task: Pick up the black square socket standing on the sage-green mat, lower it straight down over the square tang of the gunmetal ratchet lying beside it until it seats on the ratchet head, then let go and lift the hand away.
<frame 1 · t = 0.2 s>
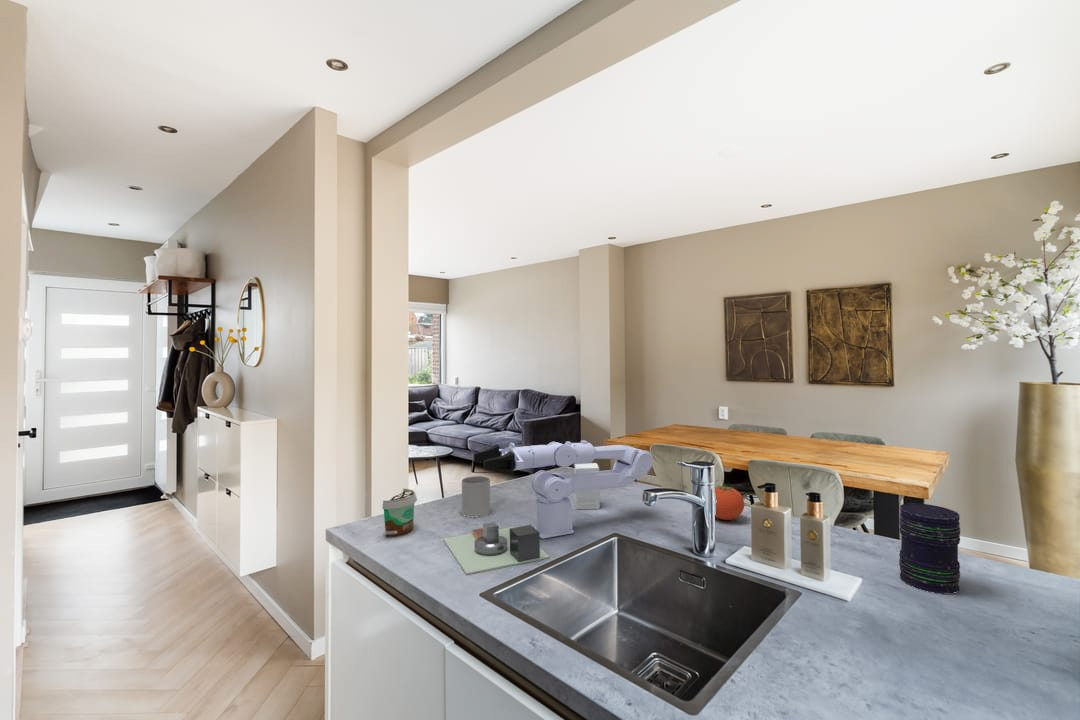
hand: (478, 461, 125), 21 cm above the worktop, tool horizontal, fingers open, 7 cm apart
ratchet: (491, 549, 122), resting on tool mat
food container: (404, 532, 136), on the worktop
supplement box: (587, 506, 156), on the worktop
cup: (476, 513, 151), on the worktop
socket: (524, 555, 118), resting on tool mat
storage jar: (928, 583, 103), on the worktop
tomato: (725, 519, 142), on the worktop
tool mat: (493, 548, 124), on the worktop
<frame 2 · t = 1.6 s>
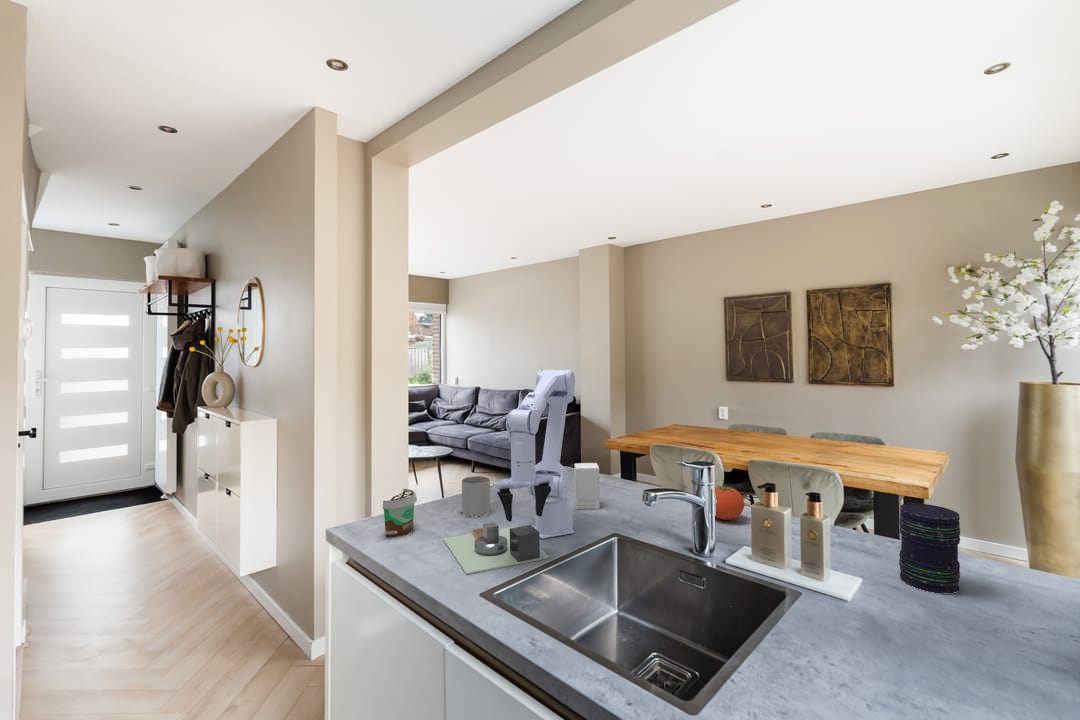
hand: (524, 517, 118), 9 cm above the worktop, tool pointing down, fingers open, 7 cm apart
nothing on the worktop moved.
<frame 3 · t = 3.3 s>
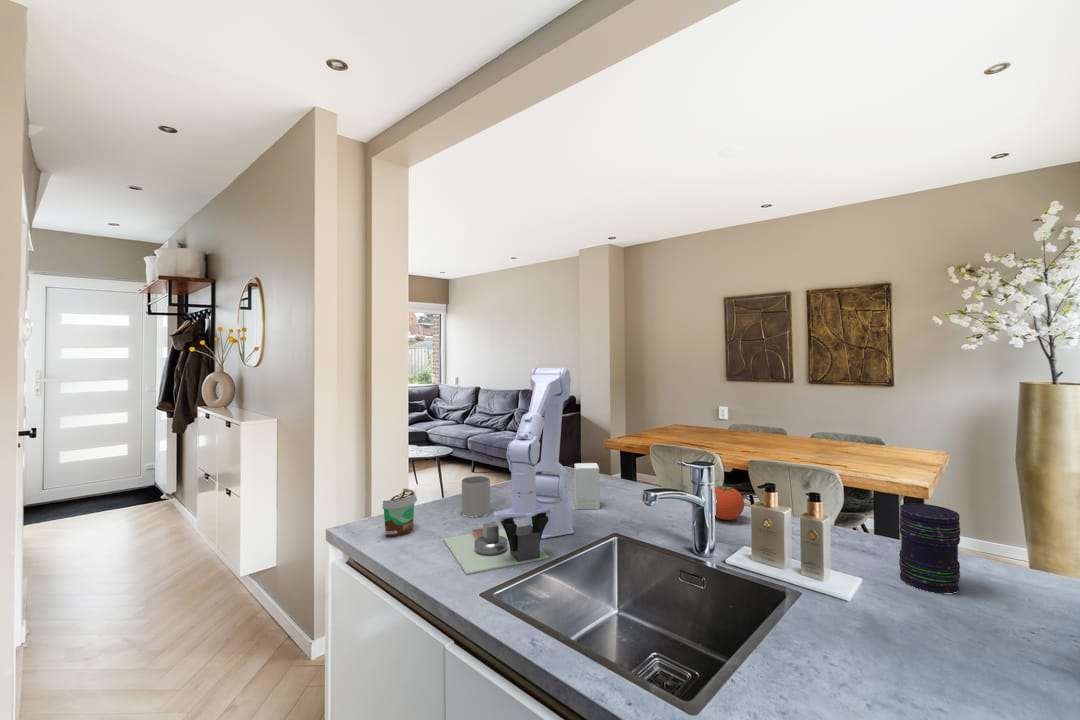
hand: (524, 547, 118), 2 cm above the worktop, tool pointing down, fingers closed on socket, 5 cm apart
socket: (524, 555, 118), resting on tool mat, touching gripper
everything else where it was.
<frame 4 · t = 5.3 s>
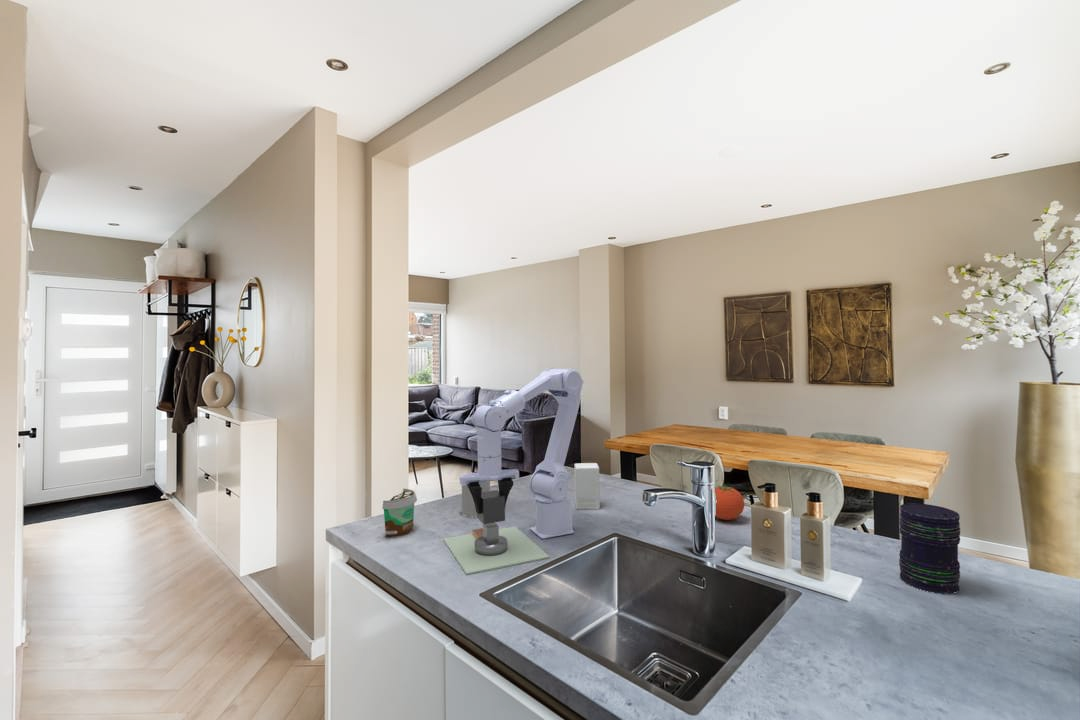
hand: (490, 510, 122), 10 cm above the worktop, tool pointing down, fingers closed on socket, 5 cm apart
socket: (490, 518, 122), point 8 cm above the worktop, touching gripper
everything else where it was.
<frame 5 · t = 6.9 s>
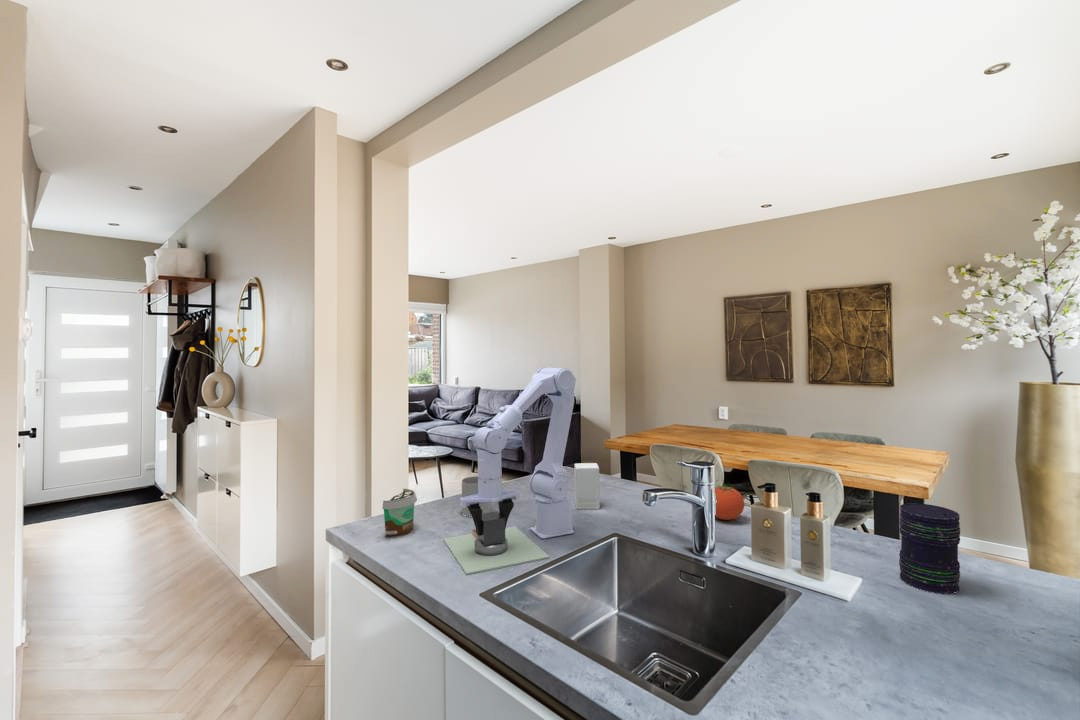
hand: (490, 532, 122), 5 cm above the worktop, tool pointing down, fingers closed on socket, 5 cm apart
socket: (491, 540, 122), point 3 cm above the worktop, touching gripper
everything else where it was.
when the fingers open (5 cm above the worktop, at t = 7.8 s): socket stays where it is, resting on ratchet.
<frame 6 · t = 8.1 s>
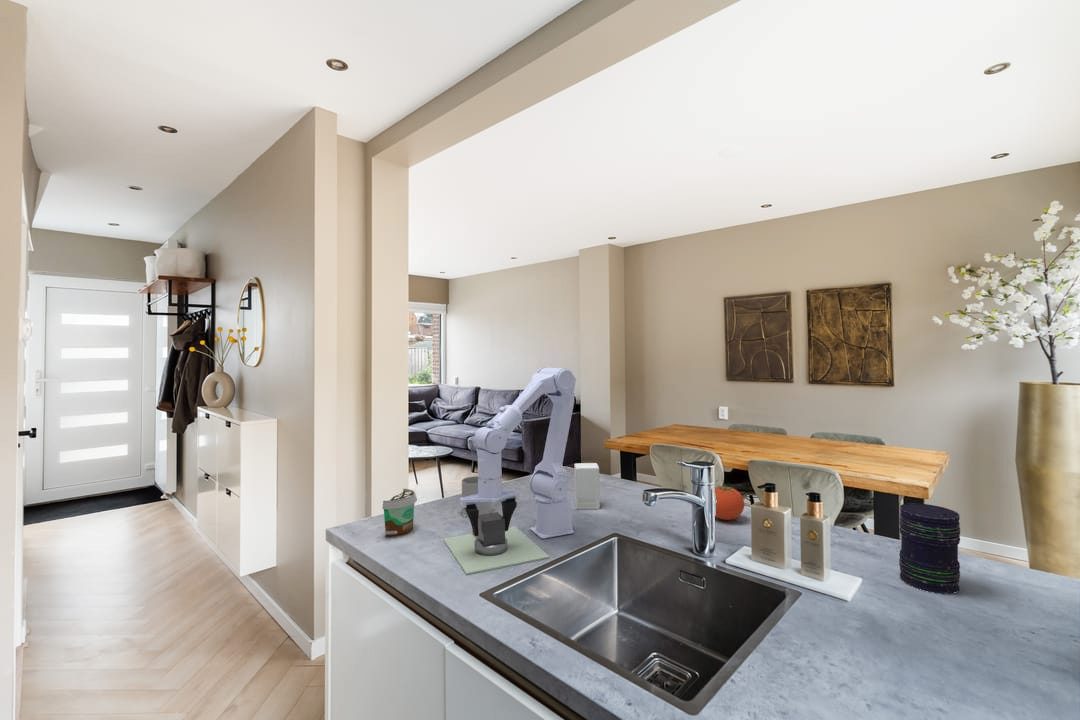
hand: (490, 532, 122), 5 cm above the worktop, tool pointing down, fingers open, 7 cm apart
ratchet: (491, 549, 122), resting on tool mat, touching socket
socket: (491, 541, 122), point 2 cm above the worktop, touching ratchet
everything else where it was.
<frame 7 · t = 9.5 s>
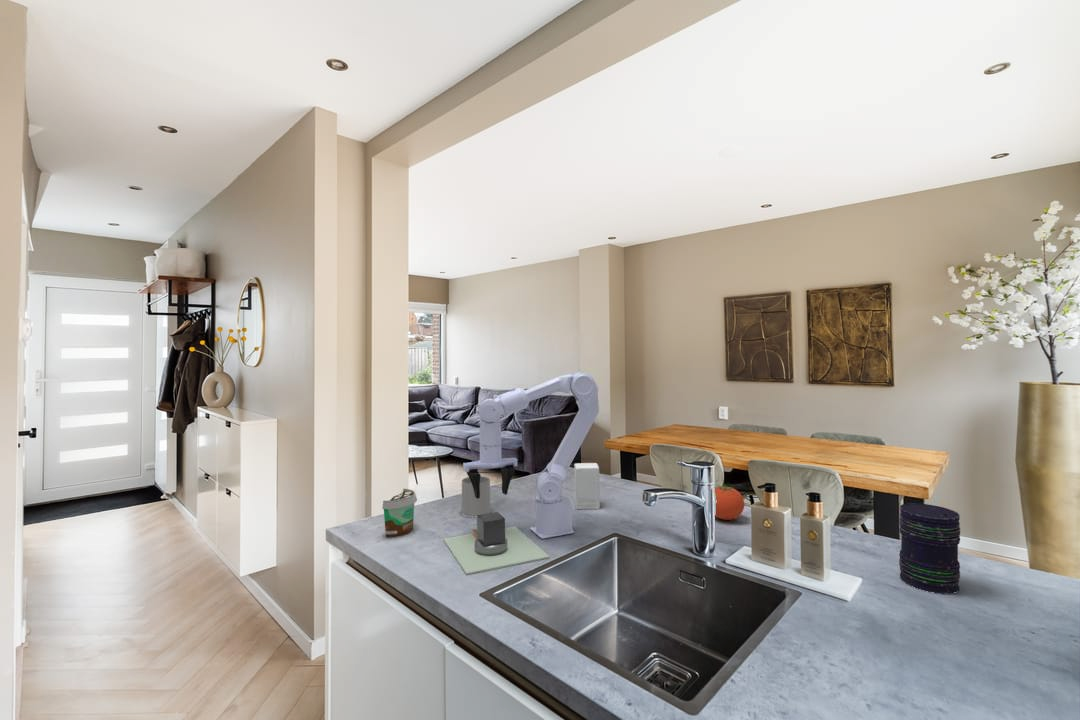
hand: (491, 495, 133), 10 cm above the worktop, tool pointing down, fingers open, 7 cm apart
nothing on the worktop moved.
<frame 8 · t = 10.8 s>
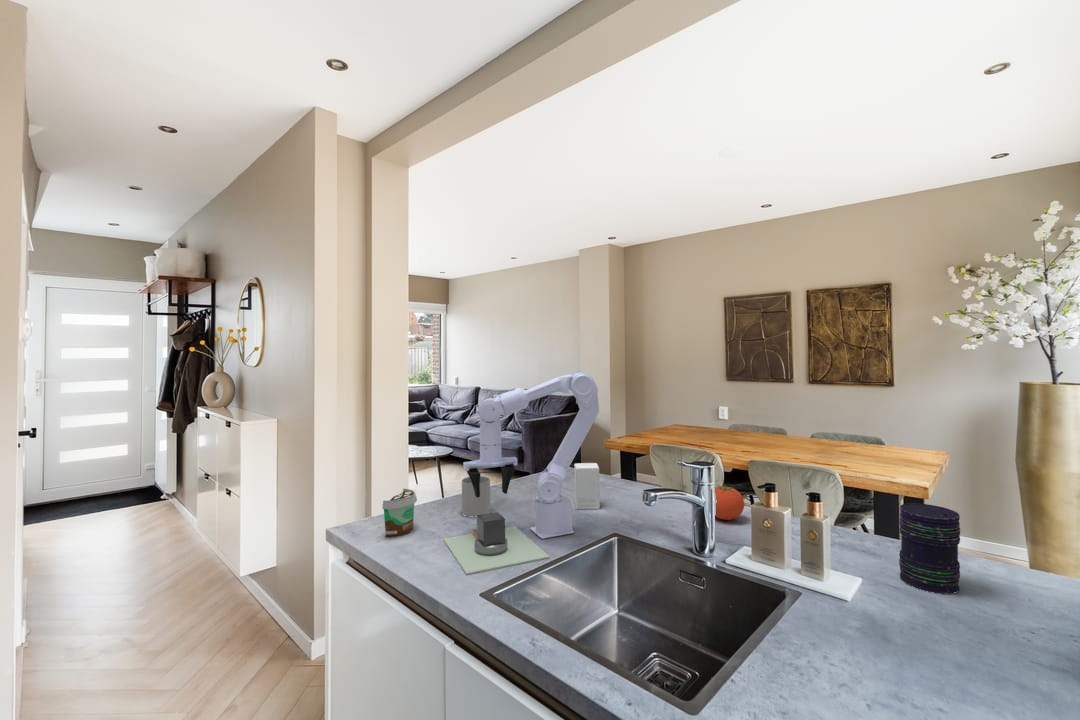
hand: (491, 494, 134), 10 cm above the worktop, tool pointing down, fingers open, 7 cm apart
nothing on the worktop moved.
at the end: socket 0.1 cm from the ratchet (horizontally); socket point 2.4 cm above the worktop; the gripper is holding nothing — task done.
